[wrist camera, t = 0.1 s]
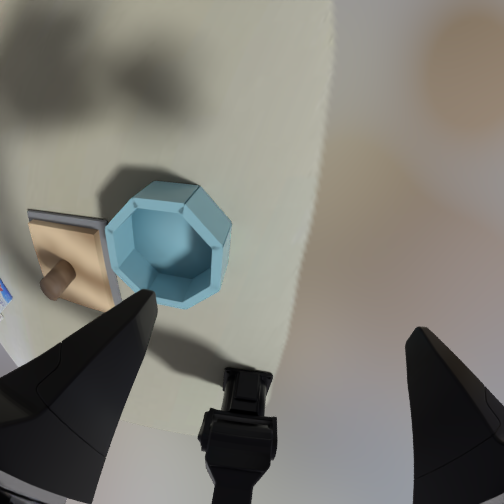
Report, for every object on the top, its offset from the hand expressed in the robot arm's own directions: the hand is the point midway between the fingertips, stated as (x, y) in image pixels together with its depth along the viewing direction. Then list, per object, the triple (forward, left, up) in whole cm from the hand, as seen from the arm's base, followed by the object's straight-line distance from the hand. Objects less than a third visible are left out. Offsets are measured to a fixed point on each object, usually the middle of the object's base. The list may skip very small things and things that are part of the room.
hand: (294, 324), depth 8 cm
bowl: (-6, +9, -15) cm, 18 cm away
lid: (-12, +23, -14) cm, 30 cm away
